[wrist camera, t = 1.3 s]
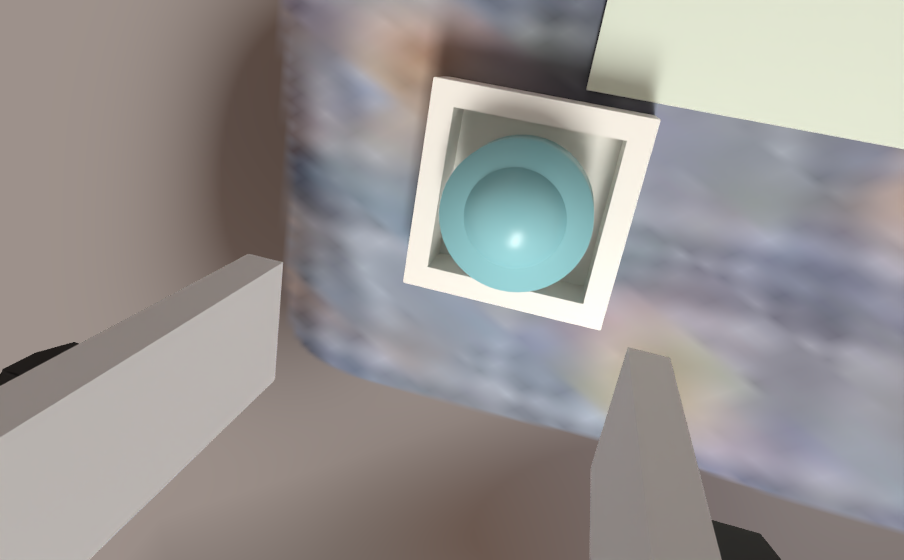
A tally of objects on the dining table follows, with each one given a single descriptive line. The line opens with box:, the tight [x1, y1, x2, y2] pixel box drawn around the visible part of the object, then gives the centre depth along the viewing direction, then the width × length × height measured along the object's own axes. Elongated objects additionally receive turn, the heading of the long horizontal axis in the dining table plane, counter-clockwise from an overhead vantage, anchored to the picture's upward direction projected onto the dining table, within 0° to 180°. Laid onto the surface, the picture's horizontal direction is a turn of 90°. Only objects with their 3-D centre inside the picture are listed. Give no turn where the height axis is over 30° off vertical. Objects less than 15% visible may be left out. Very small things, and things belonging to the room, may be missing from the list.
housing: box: [403, 76, 660, 330], centre depth 26 cm, size 9×9×2 cm
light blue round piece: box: [439, 135, 594, 292], centre depth 24 cm, size 6×6×4 cm
